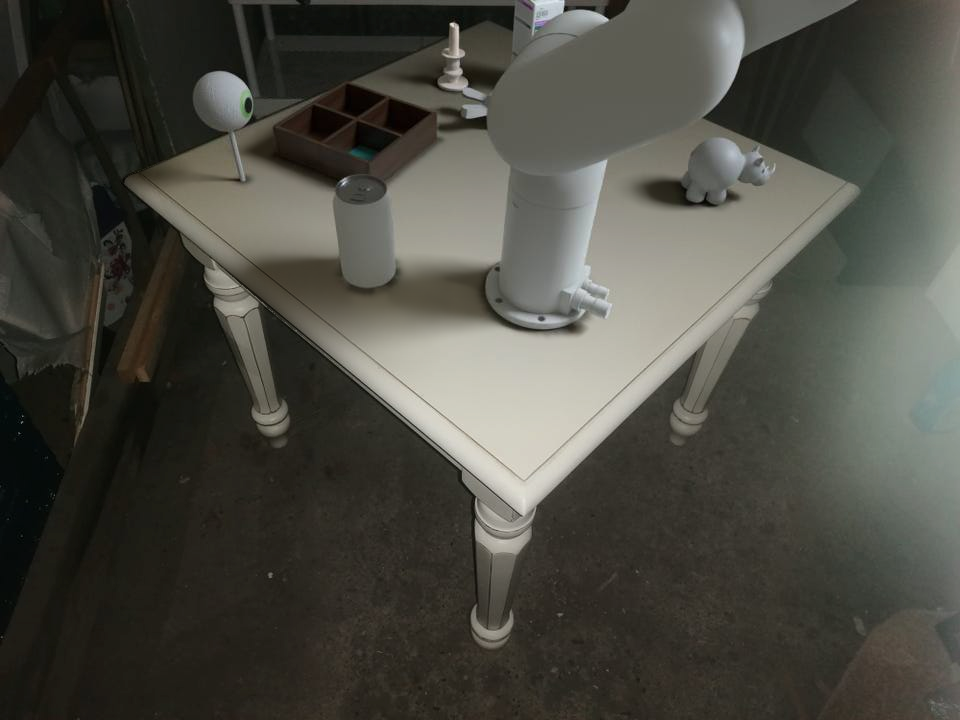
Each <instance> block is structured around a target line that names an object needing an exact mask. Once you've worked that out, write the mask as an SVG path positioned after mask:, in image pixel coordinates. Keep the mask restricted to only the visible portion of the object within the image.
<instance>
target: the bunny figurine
mask: <svg viewBox="0 0 960 720" xmlns="http://www.w3.org/2000/svg"><path fill="white" fill-rule="evenodd" d="M491 95H492V92H491V93H490V94H488V95H487V94H485V93H483V92H481V91H478V90H476V89H474V88H473V87H472V88H471V87H468V86H467V87H466V88H464V89H463V90H461V97H462V98H464V99H467V100H472V101H475V102H477V103H482V104H463V105H461V110H460V115H461V117H462V118H464V119H475V118H480V117H485V116H486V117H487V109H488V104H489V100H490V97H491Z"/></svg>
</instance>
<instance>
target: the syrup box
mask: <svg viewBox="0 0 960 720" xmlns="http://www.w3.org/2000/svg"><path fill="white" fill-rule="evenodd" d="M514 4H515V5H514V15H513V16H514V17H513V29H512V30H513V31H512V43H511V44H512V45H511V57H510V65H511V64H512V63H513V61H514V60H515V59H516V57H517V55H518V54H519V52H520V51H521V50H522V49H523V47H524V46H525V45H526V43H527V42H528V41H529V40H530V39H531V37H532V36H533V35H534V34H535V33H536V32H537V31H538V29H539V28H540V27H542V26H543V25H544V24H545V23H546V22H548V21H549V20H551V19H552V18H554V17H555V16H557V15H559V14H562V13H564V10H565V9H564V8H565V0H515V3H514Z"/></svg>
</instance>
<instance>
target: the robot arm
mask: <svg viewBox="0 0 960 720" xmlns="http://www.w3.org/2000/svg"><path fill="white" fill-rule="evenodd" d="M295 1H296V2H297V3H298V4H299V5H301V6H302V7H308V6H310V4H311V3H312V2H311V0H295ZM856 2H858V0H629V2H628V4H627V5H626V7H625V9H624V10H623V11H621V12H620V13H619V14H618V15H615V16H614V17H612V18H611V19H609V18H608V17H605V15H602V14H600V13H598V12H596V11H592V10H587V9H573V10H567V11H563V13H562V14H559V15H557V16H555V17H554V18H552V19H551V20H549V21H548V22H546V23H545V24H544V25H543V26H542V27H540V28H539V29H538V31H537V32H536V33H535V34H534V35H533V36H532V37H531V39H530V40H529V41H528V42H527V43H526V45H525V46H524V47H523V49H522V50H521V51H520V52H519V54H518V55H517V57H516V59H515V60H514V61H513V63H512V64H511V63H510V65H509V66H508V68H507V69H506V70H505V71H504V73H503V74H502V75H501V77H500V78H499V79H498V81H497V83H496V84H495V86H494V88H493V90H492V91H491V93H492V95H491V97H490V100H489V104H488V109H487V115H486V128H487V134H488V138H489V141H490V143H491V145H492V147H493V149H494V150H495V152H496V154H497V155H498V156H499V157H500V159H501V160H503V161H504V162H505V163H506V164H507V165H509V174H508V175H509V176H508V181H507V193H506V203H505V214H504V224H503V235H502V245H501V255H500V260H499V261H498V262H497V263H496V264H494V265H493V266H492V268H491V269H489V272H488V274H487V275H486V278H485V279H486V280H485V296H486V299H487V302H488V303H489V305H490V307H491V308H492V309H493V310H494V311H495V312H496V313H497V314H498V315H499V316H501V317H502V318H503V319H505V320H506V321H508V322H511V323H512V324H515V325H517V326H520V327H524V328H528V329H533V330H552V329H553V330H554V329H559V328H563V327H566V326H568V325H570V324H572V323H574V322H576V321H577V320H579V319H580V318H581V317H582V316H583V315H584V314H585V313H586V311H587V312H588V313H590V314H591V315H594V316H596V317H598V318H601V319H603V320H606V319H607V318H608V317H609V315H610V312H611V310H612V307H613V303H611V302H609V301H607V299H608V297H609V294H610V291H611V290H610V289H609V288H607V287H605V286H602V285H598V284H596V283H593V279H590V274H591V269H592V267H591V266H590V265H587V264H585V263H586V259H587V258H586V257H587V253H588V249H589V245H590V239H591V236H592V231H593V225H594V221H595V218H596V217H595V216H596V212H597V208H598V203H599V197H600V195H601V194H600V193H601V190H602V187H603V182H604V177H605V174H606V169H607V164H608V160H609V159H610V160H611V159H613V158H615V157H618V156H621V155H623V154H626V153H628V152H631V151H634V150H637V149H640V148H642V147H645V146H647V145H649V144H650V145H651V144H653V143H656V142H658V141H660V140H663V139H666V138H668V137H670V136H673V135H675V134H677V133H679V132H681V131H683V130H685V129H688V128H689V127H690V126H693V125H694V124H696V122H699V121H700V120H701V119H703V118H704V117H705V116H707V115H708V114H709V113H710V112H711V111H712V110H713V109H715V108H716V106H717V105H719V104H720V102H721V101H722V100H723V98H724V97H725V96H726V94H727V93H728V91H729V90H730V88H731V86H732V84H733V82H734V81H735V78H736V75H737V73H738V70H739V67H740V64H741V60H742V59H743V58H745V57H747V56H748V55H750V54H752V53H753V52H756V51H758V50H760V49H762V48H763V47H765V46H768V45H770V44H772V43H774V42H777V41H779V40H782V39H783V38H785V37H787V36H789V35H791V34H794V33H796V32H798V31H800V30H802V29H804V28H806V27H808V26H810V25H812V24H814V23H817V22H819V21H821V20H823V19H825V18H827V17H829V16H831V15H833V14H836V13H837V12H839V11H841V10H843V9H846V8H848V7H849V6H850V5H853V4H854V3H856Z"/></svg>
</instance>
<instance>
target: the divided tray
mask: <svg viewBox="0 0 960 720" xmlns="http://www.w3.org/2000/svg"><path fill="white" fill-rule="evenodd" d="M271 128H272V131H273V136H274V142H275V146H276V152H277V155H278V156H281V157H283V158H286V159H288V160H291V161H293V162H295V163H298V164H300V165H303V166H305V167H308V168H310V169H312V170H314V171H318V172H320V173H322V174H325V175H327V176H329V177H333V178H335V179H337V180H339V181H340V180H342V179H343V178H345V177H348V176H351V175H356V174H368V175H373V176H376V177H378V178H380V179H382V180H383V181H384V182H385V183H386V181H388V180H389V179H390V178H392V177H393V176H394V175H395V174H396V173H398V172H399V171H400V170H402V169H403V168H404V167H405V166H407V165H408V164H409V163H410V162H412V160H414V159H415V158H416V157H417V156H419V155H420V154H422V152H423V151H425V150H426V149H427V148H428V147H430V146H431V145H432V144H434V143H435V142H436V141H437V140H438V112H437V111H434V110H432V109H429V108H427V107H423V106H420V105H417V104H415V103H411V102H408V101H406V100H403V99H400V98H397V97H394V96H391V95H388V94H386V93H383V92H380V91H378V90H374V89H371V88H368V87H365V86H362V85H360V84H357V83H355V82H351V81H348V80H344V81H343V82H341V83H339V84H338V85H336V86H335V87H333V88H332V89H330V90H329V91H327V92H325V93H323V94H322V95H321V96H319V97H317V98H315V99H314V100H313V101H311V102H309V103H307V104H306V105H304V106H303V107H301V108H299V109H298V110H297V111H294V112H293V113H292V114H290V115H288V116H286V117H285V118H284V119H282V120H280V121H279V122H277V123H275V124H274V125H272V127H271Z"/></svg>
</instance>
